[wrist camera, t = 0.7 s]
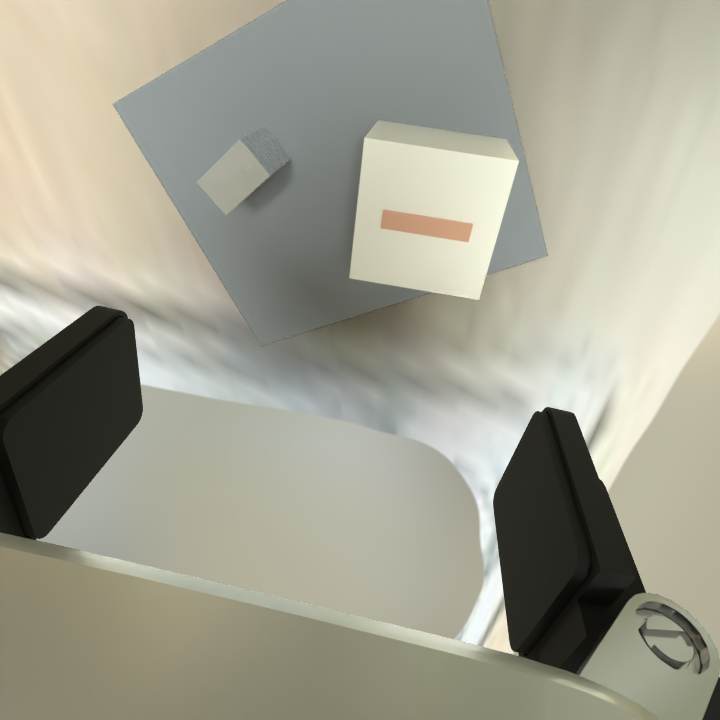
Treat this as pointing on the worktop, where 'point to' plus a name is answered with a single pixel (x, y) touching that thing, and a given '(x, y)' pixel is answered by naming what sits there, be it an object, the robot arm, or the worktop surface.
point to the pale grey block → (243, 169)
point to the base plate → (323, 142)
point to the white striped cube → (430, 207)
